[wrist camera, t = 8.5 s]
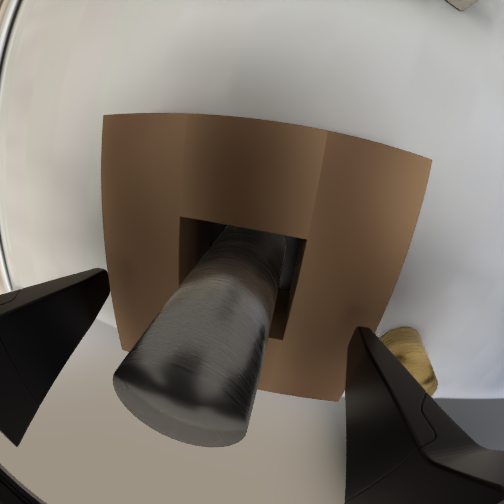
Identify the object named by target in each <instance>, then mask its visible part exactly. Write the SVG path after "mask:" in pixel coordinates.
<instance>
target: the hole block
mask: <svg viewBox="0 0 504 504" xmlns="http://www.w3.org/2000/svg"><path fill="white" fill-rule="evenodd" d="M431 163H432V160H431V159H428V158H426V157H423V156H420V155H417V154H414V153H411V152H408V151H404V150H401V149H398V148H395V147H391V146H388V145H384V144H381V143H377V142H373V141H370V140H366V139H362V138H358V137H354V136H350V135H345V134H341V133H337V132H332V131H327V130H322V129H317V128H312V127H306V126H301V125H295V124H289V123H282V122H275V121H268V120H260V119H252V118H243V117H232V116H220V115H205V114H182V113H136V114H114V115H104V116H103V130H102V155H101V189H102V214H103V229H104V241H105V251H106V260H107V269H108V276H109V283H110V290H111V296H112V302H113V308H114V313H115V318H116V323H117V328H118V333H119V338H120V341H121V346H122V349H123V350H125V351H128V352H130V351H131V349H132V348H133V346H134V345H135V344H136V342H137V341H138V340H139V338H140V337H141V336H142V334H143V333H144V332H145V330H146V329H147V328H148V326H149V325H150V324H151V322H152V321H153V320H154V318H155V317H156V316H157V314H158V313H159V312H160V310H161V309H162V308H163V307H164V305H165V304H166V303H167V301H168V300H169V299H170V297H171V296H172V295H173V294H174V292H175V291H176V290H177V288H178V287H179V286H180V284H181V283H182V282H183V281H184V279H185V278H186V277H187V276H188V274H189V273H190V272H191V270H192V269H193V268H194V267H195V265H196V264H197V263H198V262H199V260H200V259H201V258H202V257H203V255H204V254H205V253H206V252H207V250H208V249H209V239H210V226H211V222H215V223H221V224H227V225H232V226H238V227H243V228H249V229H254V230H260V231H265V232H270V233H276V234H281V235H286V236H291V237H297V238H301V242H300V247H299V251H298V256H297V261H296V265H295V270H294V274H293V279H292V283H291V288H290V291H285V290H280V289H278V293H277V298H276V303H275V308H274V313H273V318H272V322H271V327H270V332H269V337H268V341H267V346H266V351H265V355H264V360H263V364H262V369H261V373H260V378H259V382H258V386H257V389H259V390H264V391H269V392H274V393H280V394H286V395H292V396H298V397H305V398H312V399H320V400H328V401H339V399H340V397H341V396H342V394H343V392H344V390H345V381H346V366H347V349H348V345H349V342H350V340H351V338H352V335H353V333H354V331H355V329H356V327H358V326H363V327H368V328H370V329H371V330H372V331H373V332H374V333H375V331H376V329H377V327H378V325H379V323H380V320H381V318H382V316H383V314H384V311H385V309H386V307H387V304H388V302H389V300H390V297H391V295H392V292H393V290H394V287H395V285H396V282H397V279H398V277H399V274H400V272H401V269H402V266H403V263H404V260H405V258H406V255H407V252H408V249H409V246H410V243H411V240H412V237H413V233H414V230H415V227H416V223H417V220H418V217H419V213H420V209H421V206H422V202H423V198H424V194H425V190H426V186H427V182H428V177H429V173H430V168H431Z"/></svg>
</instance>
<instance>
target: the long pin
mask: <svg viewBox="0 0 504 504" xmlns="http://www.w3.org/2000/svg"><path fill="white" fill-rule="evenodd" d="M285 251H286V237H285V235H281V234H276V233H270V232H265V231H260V230H254V229H249V228H243V227H238V226H232V225H228V226H227V227H226V228H225V229H224V231H223V232H222V233H221V234H220V236H219V237H218V238H217V239H216V240H215V242H214V243H213V244H212V245H211V247H210V248H209V249H208V250H207V252H206V253H205V254H204V255H203V257H202V258H201V259H200V260H199V262H198V263H197V264H196V265H195V267H194V268H193V269H192V270H191V272H190V273H189V274H188V276H187V277H186V278H185V279H184V281H183V282H182V283H181V284H180V286H179V287H178V288H177V290H176V291H175V292H174V294H173V295H172V296H171V297H170V299H169V300H168V301H167V303H166V304H165V305H164V307H163V308H162V309H161V310H160V312H159V313H158V314H157V316H156V317H155V318H154V320H153V321H152V322H151V324H150V325H149V326H148V328H147V329H146V330H145V332H144V333H143V334H142V336H141V337H140V338H139V340H138V341H137V342H136V344H135V345H134V346H133V348H132V349H131V351H130V352H129V353H128V355H127V356H126V357H125V359H124V360H123V362H122V363H121V364H120V366H119V367H118V369H117V370H116V371H115V373H114V376H113V385H114V388H115V391H116V393H117V395H118V397H119V399H120V400H121V401H122V403H123V404H124V405H125V407H126V408H127V409H128V410H129V411H130V412H131V413H132V414H133V415H134V416H136V417H137V418H138V419H139V420H141V421H142V422H143V423H145V424H146V425H148V426H149V427H151V428H152V429H154V430H156V431H158V432H159V433H161V434H163V435H166V436H168V437H170V438H172V439H175V440H178V441H181V442H184V443H187V444H192V445H196V446H203V447H224V446H230V445H232V444H235V443H237V442H239V441H240V440H242V439H243V438H244V436H245V435H246V432H247V428H248V424H249V420H250V416H251V412H252V408H253V404H254V399H255V395H256V391H257V386H258V382H259V378H260V373H261V369H262V364H263V360H264V355H265V351H266V346H267V341H268V337H269V332H270V327H271V322H272V318H273V313H274V308H275V303H276V298H277V293H278V288H279V283H280V277H281V272H282V267H283V262H284V256H285Z"/></svg>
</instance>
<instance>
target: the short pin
mask: <svg viewBox="0 0 504 504" xmlns="http://www.w3.org/2000/svg"><path fill="white" fill-rule="evenodd" d="M380 340H381V341H382V342H383V343H384V344H385V346H386V347H387V348H388V349H389V350H390V351H391V352H392V353H393V354H394V356H395V357H396V358H397V359H398V360H399V361H400V362H401V363H402V364H403V366H404V367H405V368H406V369H407V370H408V371H409V372H410V373H411V375H412V376H413V377H414V378H415V379H416V380H417V381H418V382H419V384H420V385H421V386H422V387H423V388H424V389H425V390H426V393H428V394H429V395H430V396H432V395H433V394H434V392H435V391H436V389H437V385H438V382H437V379H436V376H435V373H434V371H433V368H432V365H431V363H430V360H429V357H428V355H427V352H426V350H425V347H424V345H423V342H422V340H421V338H420V335H419V333H418V332H417V331H416V330H415V329H413V328H409V327H400V328H396V329H393V330H391V331H389V332H387V333H385V334H384V335H383V336H382V337H381V338H380Z"/></svg>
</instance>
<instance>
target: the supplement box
mask: <svg viewBox="0 0 504 504" xmlns="http://www.w3.org/2000/svg"><path fill="white" fill-rule="evenodd" d="M447 1H448V2H449V3H451V4H452V5H454V6H455V7H456V8H458V9H459V10H465V9H466V8H468V7H469V6H471V5H473V4H474V3H476V2H477V1H479V0H447Z"/></svg>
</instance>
